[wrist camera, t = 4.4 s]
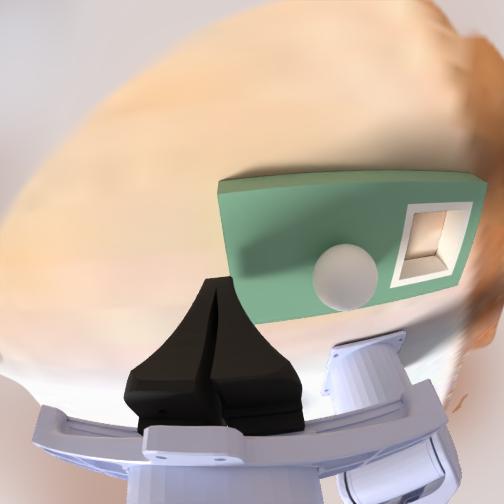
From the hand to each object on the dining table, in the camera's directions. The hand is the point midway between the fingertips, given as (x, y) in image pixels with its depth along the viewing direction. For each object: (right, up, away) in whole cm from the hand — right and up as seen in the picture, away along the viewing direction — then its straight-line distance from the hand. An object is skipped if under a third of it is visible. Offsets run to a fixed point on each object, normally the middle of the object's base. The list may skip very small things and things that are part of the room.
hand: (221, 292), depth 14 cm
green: (+9, +3, +3) cm, 10 cm away
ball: (+6, +1, 0) cm, 6 cm away
